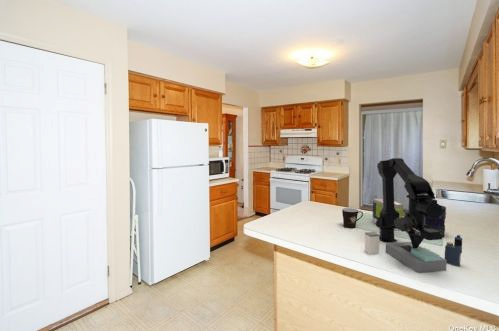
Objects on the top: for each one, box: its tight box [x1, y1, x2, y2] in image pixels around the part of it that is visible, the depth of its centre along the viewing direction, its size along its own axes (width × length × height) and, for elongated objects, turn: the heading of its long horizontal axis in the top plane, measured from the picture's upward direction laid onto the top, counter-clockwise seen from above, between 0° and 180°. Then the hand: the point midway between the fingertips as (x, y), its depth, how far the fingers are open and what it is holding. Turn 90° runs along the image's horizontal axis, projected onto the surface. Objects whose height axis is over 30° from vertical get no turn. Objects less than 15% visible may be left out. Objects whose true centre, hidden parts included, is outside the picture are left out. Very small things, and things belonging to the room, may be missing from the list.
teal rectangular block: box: [411, 247, 441, 262], centre depth 98 cm, size 7×6×2 cm
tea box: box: [371, 198, 404, 231], centre depth 145 cm, size 15×10×15 cm, turn 179°
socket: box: [385, 241, 448, 274], centre depth 104 cm, size 18×12×4 cm, turn 8°
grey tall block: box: [364, 231, 380, 255], centre depth 112 cm, size 4×4×9 cm
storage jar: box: [425, 204, 447, 238], centre depth 131 cm, size 10×10×15 cm
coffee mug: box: [341, 207, 364, 230], centre depth 145 cm, size 12×9×10 cm
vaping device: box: [444, 234, 463, 267], centre depth 100 cm, size 3×5×12 cm, turn 36°
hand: (415, 248), depth 103 cm, fingers closed
